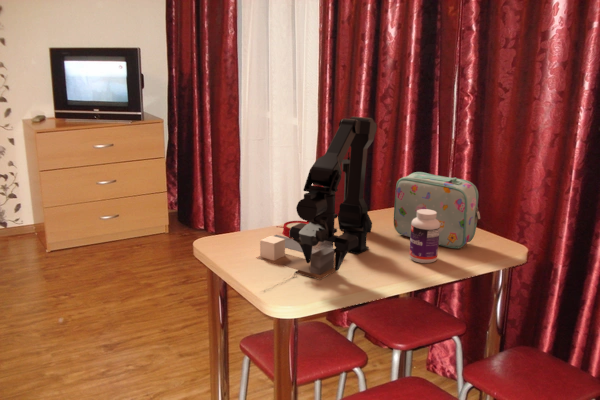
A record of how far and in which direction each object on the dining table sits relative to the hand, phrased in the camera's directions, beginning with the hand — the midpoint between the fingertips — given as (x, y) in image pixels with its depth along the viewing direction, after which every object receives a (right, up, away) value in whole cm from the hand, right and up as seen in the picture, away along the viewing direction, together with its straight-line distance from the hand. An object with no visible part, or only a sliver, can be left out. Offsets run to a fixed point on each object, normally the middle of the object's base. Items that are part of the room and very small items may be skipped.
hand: (322, 266), depth 171 cm
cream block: (-14, +2, +10) cm, 17 cm away
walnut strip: (-7, 0, +6) cm, 9 cm away
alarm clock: (-5, +6, +31) cm, 32 cm away
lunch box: (+36, +5, +29) cm, 47 cm away
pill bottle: (+30, +1, +12) cm, 32 cm away
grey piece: (-7, +3, +19) cm, 21 cm away
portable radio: (+10, +8, +40) cm, 42 cm away
